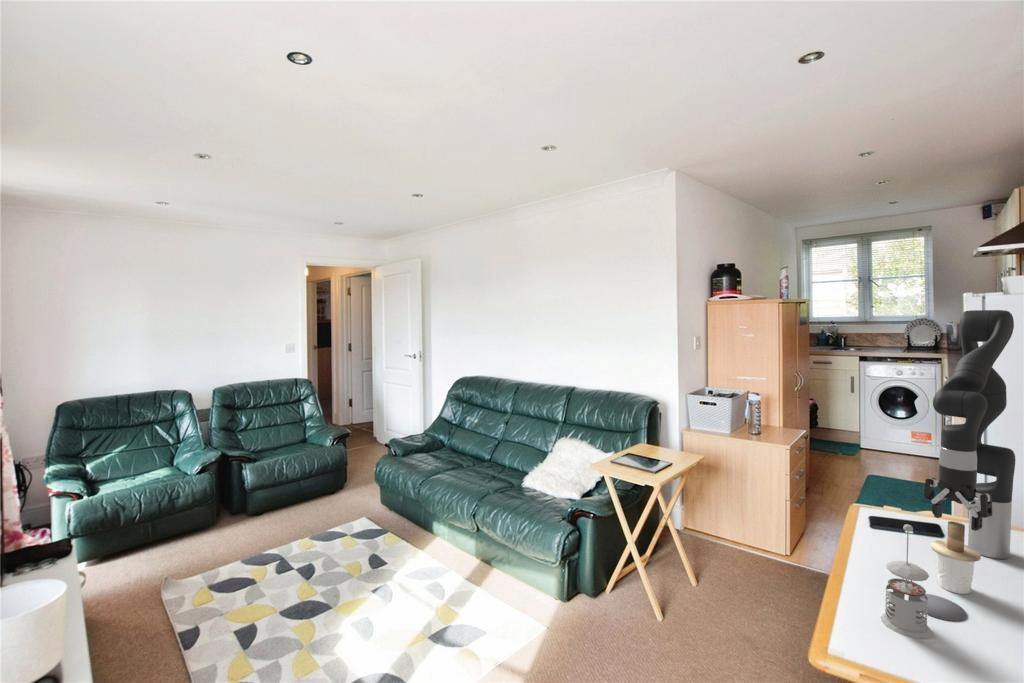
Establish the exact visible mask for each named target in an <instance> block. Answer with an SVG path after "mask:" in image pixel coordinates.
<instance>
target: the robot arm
mask: <svg viewBox="0 0 1024 683" xmlns="http://www.w3.org/2000/svg"><path fill="white" fill-rule="evenodd" d="M1014 320H1015V319H1014V316H1013V314H1012V313H1011V312H1010V311H1008V310H1002V309H986V310H985V309H982V310H981V309H979V310H974V309H973V310H965V311H964V312H962V314H961V315H960V319H959V336H960V344H961V352H962V357H961V358H960V359H959V360H958V362H957V363H956V365H955V367H954V370H953V372H952V375H951V377H950V378H949V379H948V380H947V381H946V383H945V384H943V385H942V386H941V387H940V388H939V389H938V390H937V391H936V392H935V394H934V396H933V399H932V406H933V408H934V410H935V412H936V413H938V414H939V415H942V416H946V417H954V418H955V417H956V418H960V419H961V418H962V419H965V422H964V423H958V424H957V423H956V424H955V423H954V424H945V425H943V426H942V428H941V431H940V432H941V433H940V434H941V435H940V449H939V450H940V451H939V458H938V461H939V463H938V479H939V480H937V479H936V478H935V477H930V478H926V479H925V480H924V481H925V483H924V493H923V494H924V495H923V498H924V500H928V501H930V502H931V505H932V510H931V511H932V515H933V516H934V518H936V519H940V518H942V517H943V501H944V500H947V501H950V502H951V501H952V502H956V503H957V504H960V505H963V506H964V508H965V509H967V510H968V511H969V512H968V514H969V515H968V538H967V540H968V541H967V546H969V547H971V548H973V549H975V550H977V551H978V552H979V553H980V554H981V556H983V557H988V558H991V559H999V560H1001V559H1002V560H1005V559H1009V558H1010V554H1011V533H1012V531H1011V530H1012V505H1013V503H1012V502H1013V489H1014V488H1013V487H1014V476H1015V469H1016V454H1015V452H1014V450H1012V449H1011V448H1009V447H1004V446H999V445H991V444H986V443H982V436H983V434H984V432H985V431H986V429H987V428H988V427H989V426H990V425H991V424H992V423H993V422H994V421H996V419H997V418H998V417H999V416H1000V415H1002V414H1003V412H1004V411H1005V410H1006V408H1007V403H1008V402H1007V385H1006V382H1005V380H1004V379H1003V378H1002V376H1001V375H1000V374H999V373H998V372H997V371H996V369H994V368H993V366H994V365H995V362H996V361H997V359H998V358H999V357H1000V356H1001V354H1002V353H1003V351H1004V350H1005V348H1006V346H1007V344H1008V343H1009V342H1010V340H1011V337H1012V336H1013V333H1014V329H1015V322H1014ZM979 342H981V343H982V344H981V345H979ZM978 474H980V475H985V476H990V477H995V478H996V479H995V481H991V482H977V480H978ZM936 487H938V489H939V490H940V492H939V493H938V494H936ZM935 494H936V495H935Z"/></svg>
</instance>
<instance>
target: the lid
mask: <svg viewBox="0 0 1024 683" xmlns="http://www.w3.org/2000/svg"><path fill="white" fill-rule="evenodd" d="M965 531H966V525H965V524H964V523H962V522H958V521H951V520H950V521H948V522H947V538H946V539H947V540H934V541H932V542H931V544H930V547H931V550H932V551H934V552H935V553H936V552H937V553H938V554H940V555H943V556H945V557H948V558H951V559H955V560H960V561H967V562H974V563H975V562H979V561H981V559H982V555H981V554H980V553H979V552H978V551H977V550H975V549H973V548H971V547H969V546H968V545H966V544H965Z"/></svg>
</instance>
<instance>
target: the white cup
mask: <svg viewBox="0 0 1024 683" xmlns="http://www.w3.org/2000/svg"><path fill="white" fill-rule="evenodd" d="M935 557H936V558H935V564H936V575H937V585H938V586H940V588H942V589H944V590H946V591H948V592H951V593H955V594H960V595H969V594H970V593H971V591H972V583H973V579H974V570H975V562H967V561H960V560H955V559H951V558H948V557H945V556H943V555H940V554H938V553H937V552H935Z"/></svg>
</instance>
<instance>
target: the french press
mask: <svg viewBox="0 0 1024 683" xmlns="http://www.w3.org/2000/svg"><path fill="white" fill-rule="evenodd" d="M902 529H903V530H905V531H906V536H907V537H906V560H893V561H889V562H887V563H886V564H885V566H886V569H887V570H888V571H889V572H890V573H891V574H892V575H895V576H897V578H890V579H889V580H888V581H887V585H886V587H885V610H884V611H885V612H884V613H882V614H881V616H880V617H879V618H880V621H881V622H882V624H883V625H884V626H885V627H886V628H888V629H890V630H891V631H893V632H895V633H897V634H900V635H902V636H905V637H909V638H914V639H927V638H930V637H931V636H932V635H933V632H932V629H931V628H930V627H929V626H928V621H927V620H928V615H927V613H926V612H927V608H926V607H928V606H927V604H928V598H927V596H926V595H925V594H927V593H926V592H927V591H926V589H925V588H924V587H923V586H922V585H921V584H919V583H917V582H924V581H927V580H928V578H930V575H929V573H928V572H927V571H926V570H925V569H923V568H921V566H918V565H917V564H915V563H912V562H909V560H908V559H909V535H910V534H909V532H913V531H914V528H913V526H912V525H910V524H907V523H906V524H905V523H904V525H903V527H902ZM890 590H892V591H890ZM905 595H907V596H908V600H906V599H905ZM921 598H924V599H926V601H923V600H921ZM924 609H925V610H926V611H925V612H924V611H923V610H924Z"/></svg>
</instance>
